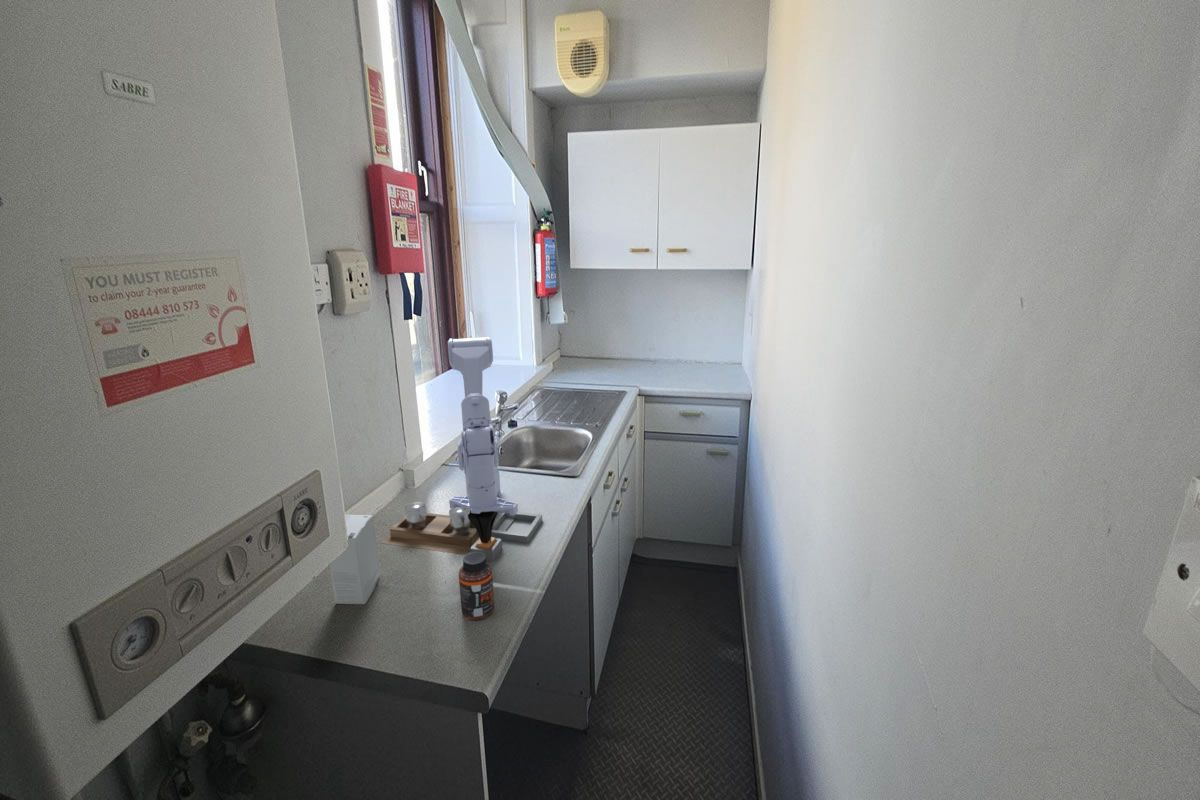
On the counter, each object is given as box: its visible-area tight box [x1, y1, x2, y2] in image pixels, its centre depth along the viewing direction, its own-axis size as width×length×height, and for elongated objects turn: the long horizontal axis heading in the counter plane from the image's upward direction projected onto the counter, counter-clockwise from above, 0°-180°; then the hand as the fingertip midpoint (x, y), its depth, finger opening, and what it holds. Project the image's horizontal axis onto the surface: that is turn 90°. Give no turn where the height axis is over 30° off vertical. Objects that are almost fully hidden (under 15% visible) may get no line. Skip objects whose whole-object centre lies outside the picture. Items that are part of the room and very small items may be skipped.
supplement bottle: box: [458, 552, 495, 621], centre depth 99 cm, size 6×6×11 cm
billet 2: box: [448, 507, 471, 536], centre depth 123 cm, size 4×4×6 cm
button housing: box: [470, 537, 503, 563], centre depth 118 cm, size 5×5×3 cm
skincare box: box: [328, 514, 381, 605], centre depth 104 cm, size 8×6×15 cm
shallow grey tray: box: [491, 511, 543, 544], centre depth 128 cm, size 10×10×2 cm
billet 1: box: [404, 501, 427, 530], centre depth 126 cm, size 4×4×6 cm
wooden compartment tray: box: [380, 512, 479, 556], centre depth 125 cm, size 14×21×3 cm, turn 77°
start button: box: [476, 537, 496, 549], centre depth 117 cm, size 3×3×3 cm
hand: (485, 540), depth 117 cm, fingers closed
